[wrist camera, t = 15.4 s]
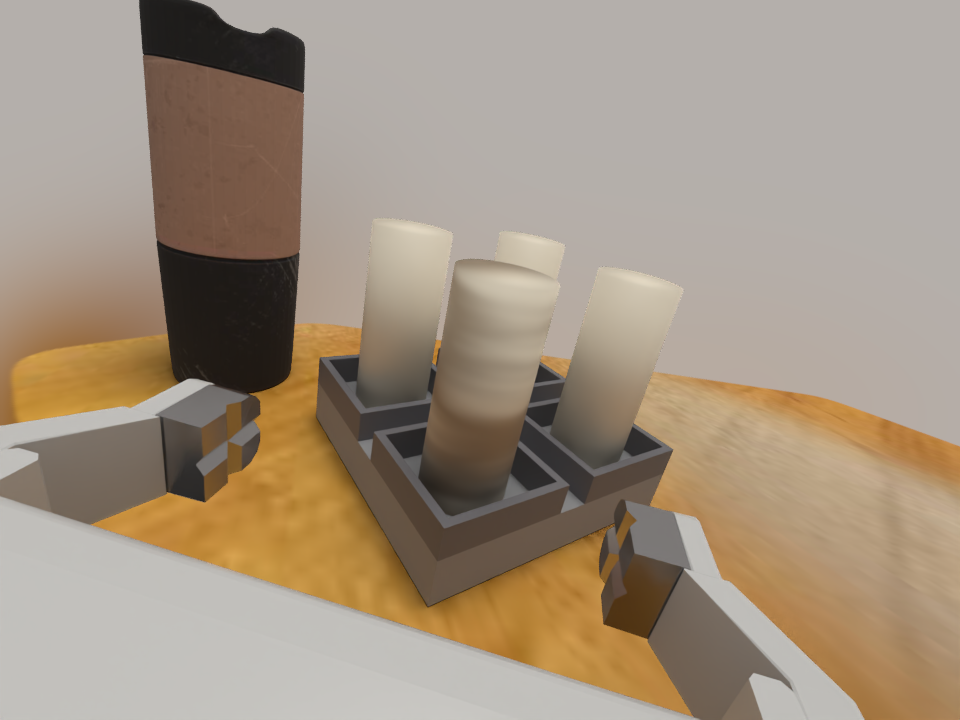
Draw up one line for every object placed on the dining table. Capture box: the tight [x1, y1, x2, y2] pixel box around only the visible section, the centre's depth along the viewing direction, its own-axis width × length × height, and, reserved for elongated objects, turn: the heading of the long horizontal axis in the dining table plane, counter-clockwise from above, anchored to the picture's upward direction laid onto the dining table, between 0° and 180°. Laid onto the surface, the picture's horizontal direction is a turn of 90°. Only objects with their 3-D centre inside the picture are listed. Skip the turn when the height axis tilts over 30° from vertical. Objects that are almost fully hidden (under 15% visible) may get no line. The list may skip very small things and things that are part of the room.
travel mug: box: [139, 0, 305, 393], centre depth 28 cm, size 8×8×20 cm
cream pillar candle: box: [418, 259, 560, 516], centre depth 19 cm, size 4×4×10 cm
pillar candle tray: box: [316, 218, 684, 607], centre depth 25 cm, size 14×14×12 cm
